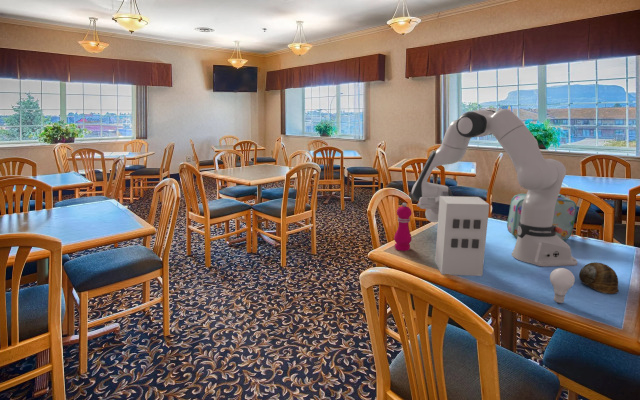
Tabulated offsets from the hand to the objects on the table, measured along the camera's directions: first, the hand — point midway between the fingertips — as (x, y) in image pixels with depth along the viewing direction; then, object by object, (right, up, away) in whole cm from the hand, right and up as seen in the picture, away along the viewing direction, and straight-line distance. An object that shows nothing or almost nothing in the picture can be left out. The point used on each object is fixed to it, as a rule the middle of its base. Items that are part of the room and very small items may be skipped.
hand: (446, 197), depth 163 cm
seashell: (+38, -30, -35) cm, 60 cm away
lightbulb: (+19, -32, -46) cm, 59 cm away
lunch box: (+47, -19, +14) cm, 53 cm away
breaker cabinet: (-3, -26, -21) cm, 34 cm away
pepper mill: (-19, -22, +1) cm, 29 cm away
